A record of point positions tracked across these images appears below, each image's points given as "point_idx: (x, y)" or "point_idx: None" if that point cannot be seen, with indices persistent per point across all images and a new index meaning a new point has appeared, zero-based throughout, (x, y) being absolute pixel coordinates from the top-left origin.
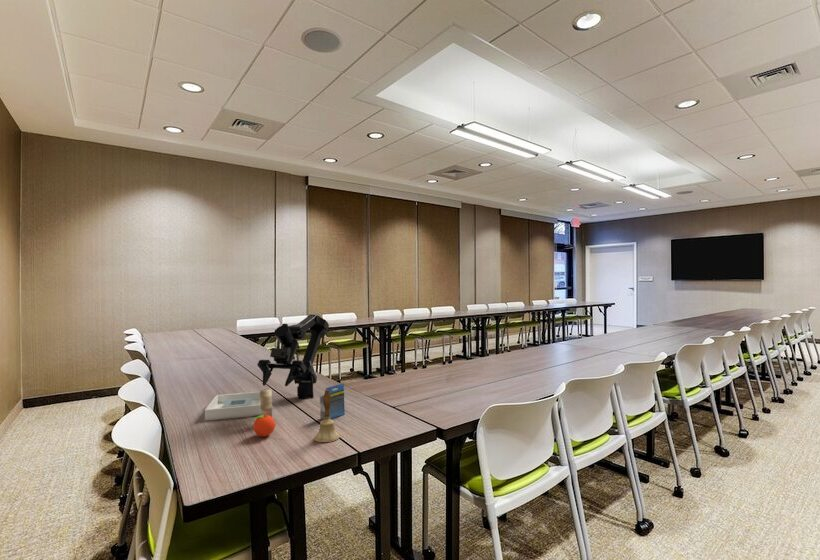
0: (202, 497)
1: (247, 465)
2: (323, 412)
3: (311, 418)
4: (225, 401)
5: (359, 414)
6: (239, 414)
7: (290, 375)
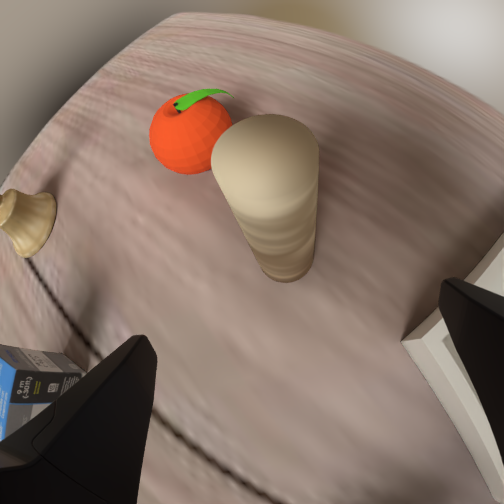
0: (170, 19)
1: (153, 64)
2: (51, 358)
3: None
4: None
5: None
6: (474, 271)
7: (45, 414)
